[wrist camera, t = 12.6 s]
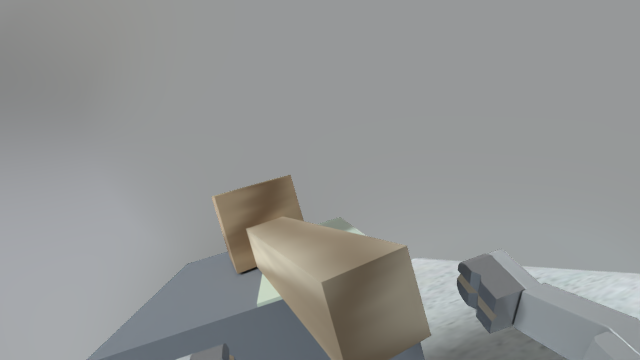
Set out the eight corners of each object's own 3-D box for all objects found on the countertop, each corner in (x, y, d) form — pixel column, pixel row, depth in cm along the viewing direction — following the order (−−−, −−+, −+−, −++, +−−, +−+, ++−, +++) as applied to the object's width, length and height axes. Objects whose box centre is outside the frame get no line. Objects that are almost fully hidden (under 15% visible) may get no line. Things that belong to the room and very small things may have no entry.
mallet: (301, 410, 8) (237, 195, 8) (229, 257, 30) (211, 196, 30) (465, 315, 11) (419, 142, 10) (288, 236, 32) (272, 179, 32)
